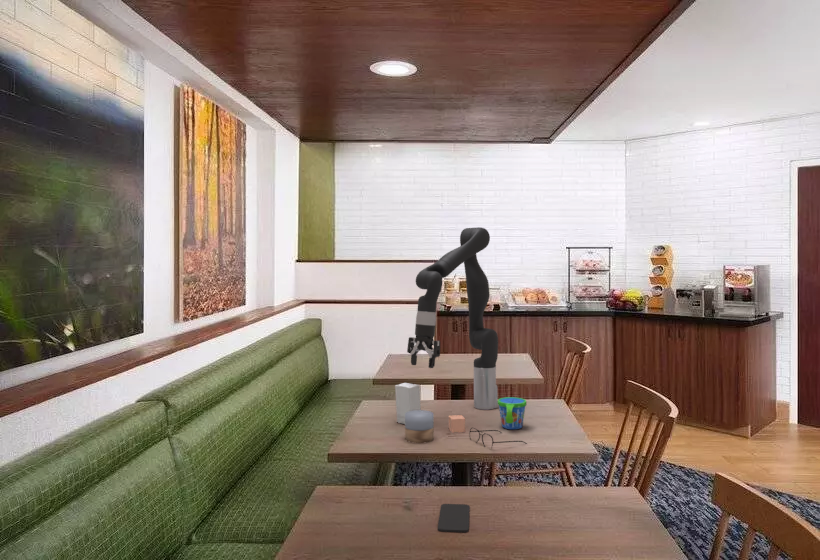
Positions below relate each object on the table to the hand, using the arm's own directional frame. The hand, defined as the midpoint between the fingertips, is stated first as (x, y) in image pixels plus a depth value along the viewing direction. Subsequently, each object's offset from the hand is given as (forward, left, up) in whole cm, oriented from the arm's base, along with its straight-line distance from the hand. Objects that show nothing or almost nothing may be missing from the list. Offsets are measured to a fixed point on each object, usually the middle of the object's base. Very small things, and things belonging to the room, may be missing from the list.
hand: (422, 366), depth 228 cm
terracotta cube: (-11, +10, -22) cm, 27 cm away
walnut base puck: (+4, +17, -22) cm, 28 cm away
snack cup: (-32, +10, -22) cm, 40 cm away
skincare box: (+5, -3, -22) cm, 23 cm away
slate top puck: (+4, +17, -18) cm, 25 cm away
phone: (+6, +81, -23) cm, 84 cm away
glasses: (-22, +25, -23) cm, 40 cm away
